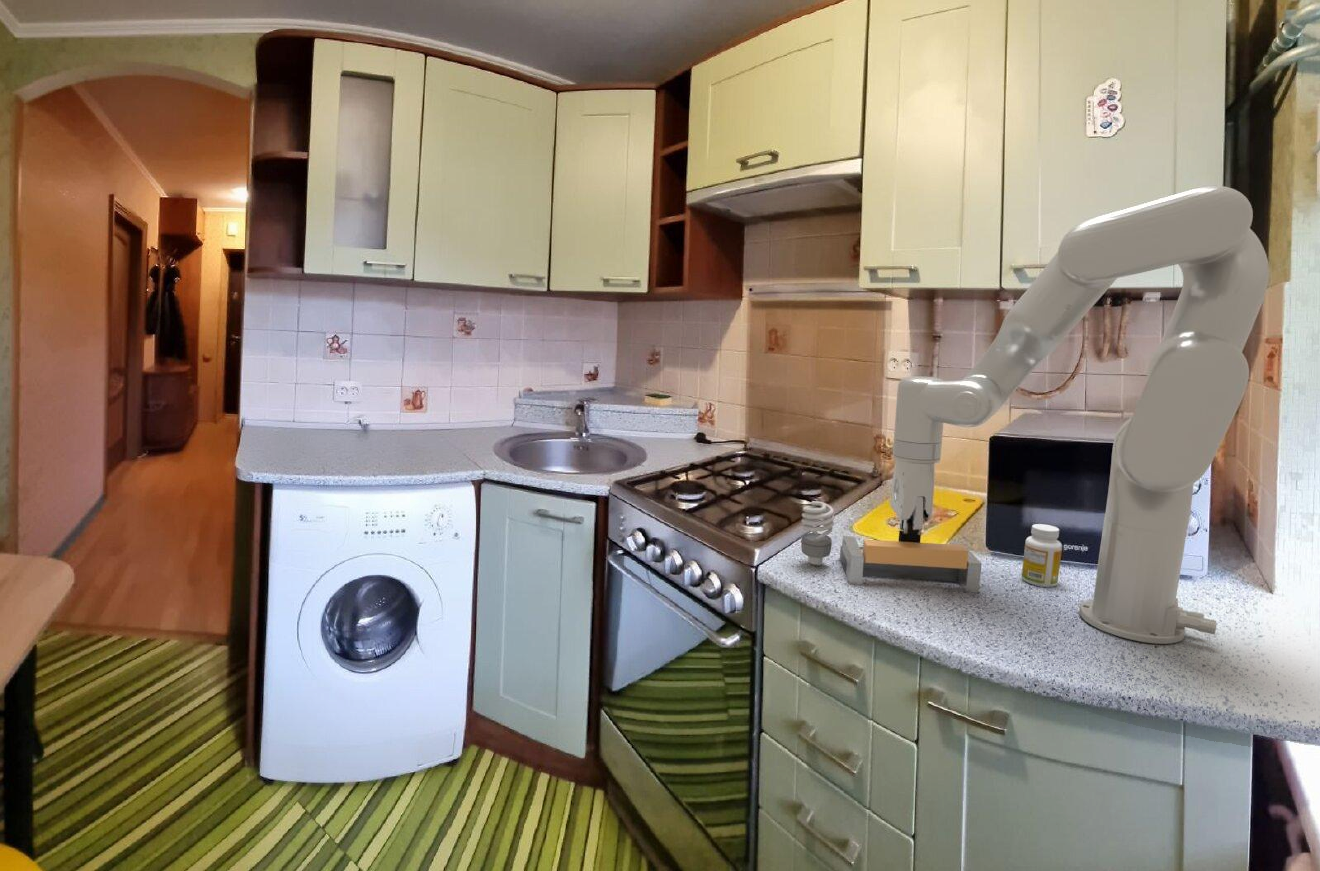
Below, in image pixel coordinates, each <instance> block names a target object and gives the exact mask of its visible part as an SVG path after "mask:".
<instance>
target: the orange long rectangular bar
mask: <svg viewBox="0 0 1320 871" xmlns="http://www.w3.org/2000/svg"><path fill="white" fill-rule="evenodd" d="M963 545H964V544H963ZM963 545H952V544H949V543H931V542H920V543H916V542H899V540H896V541H895V540H893V541H892V540H881V539H880V540H878V539H876V540H875V539H863V543H862V547H863V556H864V561H865V563H880V564H896V565H913V566H929V567H945V568H962V569H967V559H968V550H969V549H968V548H967V547H966V546H965V545H964V546H965V547H966V548H967V549H968V550H967V549H966V548H965V547H964V546H963Z"/></svg>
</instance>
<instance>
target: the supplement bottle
mask: <svg viewBox="0 0 1320 871" xmlns="http://www.w3.org/2000/svg"><path fill="white" fill-rule="evenodd" d="M1030 530H1031V531H1030V533H1031V535H1030V536H1028V537H1027V538H1026V539H1025V544H1024V551H1023V552H1024V553H1023V561H1022V568H1021V579H1022V581H1024V582H1025V583H1027V584H1030V585H1033V586H1036V587H1041V588H1052V587H1055V586H1057V585H1058V582H1059V575H1060V565H1061V560H1062V559H1061V557H1062V551H1063V544H1062V543H1061V541H1059V540H1058V538H1059V535H1060V529H1059V528H1058V527H1057V526H1053V525H1050V524H1044V523H1036V524H1032V526H1031V529H1030Z"/></svg>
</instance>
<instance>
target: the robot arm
mask: <svg viewBox="0 0 1320 871" xmlns="http://www.w3.org/2000/svg"><path fill="white" fill-rule="evenodd" d="M1252 207H1253V206H1252V204H1251V202H1250V201H1249V199H1248V197H1246V196H1245V195H1244V194H1243V193H1242V192H1240V191H1238V190H1237V189H1235V188H1231V187H1227V186H1225V185H1224V186H1221V185H1207V186H1201V187H1197V188H1193V189H1189V190H1186V191H1183V192H1182V191H1181V192H1179V193H1175V194H1172V195H1168V196H1165V197H1162V198H1158V199H1156V200H1152V201H1149V202H1145V203H1142V204H1138V205H1135V206H1132V207H1128V208H1125V209H1121V210H1117V211H1112V212H1110V213H1107V214H1103V215H1099V216H1096V217H1093V218H1090V219H1087V220H1084V221H1082V222H1080V223H1078V224H1076V225H1075V226H1073V227H1072V228H1071V229H1069V231H1067V233H1066V234H1065V235H1064V236H1063V238H1062V240H1061V241H1060V244H1059V247H1058V250H1057V252H1056V253H1055V254H1054V256H1053V257H1052V258H1051V259H1050V261H1049V262H1048V263H1047V265H1046V266H1044V268H1043V270H1042V271H1041V272H1040V273H1039V275H1037V277H1036V278H1035V279H1034V281H1033V282H1032V283H1031V284H1030V285H1029V287H1028V288H1027V289H1026V291H1025V292H1024V293H1023V294H1022V295H1021V296H1020V298H1019V299H1018V300H1017V301H1016V302H1015V304H1014V305H1013V306H1012V307H1011V308H1010V310H1009V312H1008V313H1007V314H1006V315H1005V318H1004V319H1003V321H1002V324H1001V326H1000V329H999V331H998V333H997V335H996V336H995V338H994V340H993V341H992V342H991V345H990V346H989V347H988V348H987V350H986V351H985V353H984V354H982V356H981V357H980V358H979V360H977V362H976V363H975V365H974V366H973V367H972V368H971V370H969V372H968V373H967V374H966V375H965V377H963V379H959V380H958V379H957V380H944V379H942V378H939V377H935V376H934V377H933V376H919V375H918V376H914V375H913V376H906V377H903V378H902V379H900V380H899V382H898V385H897V394H896V395H897V396H896V404H895V418H894V419H895V420H894V432H893V444H892V445H893V446H892V458H893V459H894V460H895V461H894V468H893V473H892V474H893V475H892V484H891V490H890V491H891V492H890V500H889V505H890V508H891V509H892V511H893V512H894V513H895V515H896V516H897V517H898V518H899V529H900V530H898V541H899V542H916V543H921V540H922V539H921V536H922V530H923V528H924V526H923V525H924V521H925V522H929V521H930V520H931V519H932V514H933V508H934V507H933V506H934V493H935V492H934V491H935V464H937V463H940V462H941V457H942V456H941V455H942V448H943V447H942V446H943V445H942V444H943V434H944V433H943V430H944V424H947V425H952V426H956V427H960V428H976V427H979V426H981V425H983V424H985V423H986V422H988V421H989V420H990V419H991V418H992V417H993V416H994V415H995V414H996V413H997V412H998V411H999V410H1000V409H1001V407H1003V405H1005V403H1006V402H1007V401H1008V400H1009V399H1010V397H1012V395H1013V394H1014V393H1015V391H1016V390H1017V389H1018V388H1019V387H1020V386H1021V385H1022V384H1023V382H1024V381H1025V380H1026V379H1027V378H1028V377H1029V375H1030V374H1031V373H1032V372H1033V371H1034V370H1035V369H1036V367H1038V365H1040V364H1041V362H1043V360H1045V359H1046V358H1047V357H1048V356H1050V355H1051V354H1052V353H1053V352H1055V350H1056V348H1057V347H1058V346H1059V345H1060V344H1061V343H1062V342H1063V341H1064V339H1066V338H1067V336H1069V334H1070V332H1071V331H1072V330H1073V329H1074V328H1075V327H1076V326H1077V325H1078V323H1079V322H1080V321H1081V320H1082V319H1083V318H1084V317H1085V315H1086V314H1087V313H1088V312H1089V311H1090V310H1091V309H1092V308H1093V306H1094V305H1095V304H1096V303H1097V302H1098V301H1099V300H1100V299H1101V298H1102V296H1103V295H1104V294H1106V292H1107V290H1108V289H1109V288H1110V287H1111V286H1112V285H1113V284H1114V283H1115V282H1116V280H1117V279H1119V278H1125V277H1127V276H1133V275H1138V274H1142V273H1147V272H1151V271H1154V270H1160V269H1163V268H1168V267H1173V266H1175V265H1178V266H1179V268H1180V270H1181V272H1182V277H1183V278H1182V280H1183V281H1182V287H1181V291H1180V293H1179V296H1178V298H1177V301H1176V304H1175V307H1174V310H1173V312H1172V315H1171V318H1170V320H1169V322H1168V325H1167V327H1166V329H1165V332H1164V333H1163V336H1162V338H1161V340H1160V342H1159V344H1158V346H1157V348H1156V349H1155V352H1154V354H1153V355H1152V357H1151V358H1150V360H1149V362H1148V364H1147V371H1146V376H1147V377H1146V378H1147V380H1146V383H1145V385H1144V388H1143V390H1142V392H1141V395H1140V397H1139V400H1138V402H1137V404H1136V406H1135V409H1134V411H1133V413H1132V416H1131V417H1129V419H1127V420H1126V421H1125V422H1123V424H1121V426H1120V427H1119V428H1118V430H1117V432H1116V434H1115V436H1114V439H1113V445H1112V452H1111V464H1110V471H1109V472H1110V474H1109V484H1108V489H1107V490H1108V493H1107V498H1106V506H1105V507H1106V508H1105V514H1104V518H1103V525H1102V532H1101V539H1100V540H1101V541H1100V547H1099V553H1098V561H1097V562H1098V563H1097V568H1096V575H1095V576H1096V577H1095V584H1094V591H1093V598H1092V599H1088V600H1085V601H1083V602H1082V603H1080V604H1079V609H1078V610H1079V611H1078V613H1079V615H1080V617H1081V618H1082V619H1083V621H1085V622H1086V623H1088V624H1089V625H1091V626H1092V627H1094V628H1096V629H1098V630H1100V631H1102V632H1105V633H1107V634H1109V635H1113V636H1116V637H1120V638H1124V639H1127V640H1131V641H1135V642H1142V643H1146V644H1147V643H1148V644H1155V645H1156V644H1158V645H1162V644H1163V645H1166V644H1167V645H1168V644H1175V643H1178V642H1181V641H1183V640H1184V639H1185V634H1186V629H1187V628H1188V629H1191V630H1195V631H1198V632H1201V633H1204V634H1205V633H1206V634H1209V635H1214V636H1215V634H1216V629H1217V620H1214V619H1209V618H1205V617H1204V616H1205V613H1202V612H1201V613H1200V612H1195V611H1189V610H1186V609H1185V610H1184V609H1183V607H1180V606H1179V599H1178V598H1177V594H1178V588H1179V582H1180V577H1181V570H1182V564H1183V557H1184V551H1185V544H1186V539H1187V533H1188V530H1189V523H1190V516H1191V509H1192V503H1193V502H1192V501H1193V495H1194V494H1193V491H1194V485H1195V483H1196V482H1198V481H1199V480H1200V479H1201V478H1202V477H1203V476H1204V475H1205V474H1206V473H1207V472H1208V469H1209V468H1210V466H1211V465H1212V462H1213V460H1214V459H1215V457H1216V454H1217V453H1218V451H1219V448H1220V446H1221V445H1222V442H1223V441H1224V438H1225V437H1226V434H1227V432H1228V430H1229V428H1230V425H1231V424H1232V422H1233V420H1234V418H1235V415H1236V413H1237V411H1238V409H1239V407H1240V404H1241V403H1242V400H1243V398H1244V395H1245V393H1246V391H1247V387H1248V383H1249V375H1250V368H1249V363H1248V361H1247V357H1245V354H1244V353H1243V351H1244V348H1245V346H1246V344H1247V342H1248V341H1247V340H1248V338H1249V337H1250V335H1251V332H1252V330H1253V327H1254V324H1255V322H1256V320H1257V317H1258V315H1259V312H1260V311H1261V307H1262V305H1263V303H1264V300H1265V296H1266V294H1267V290H1268V287H1269V286H1268V285H1269V280H1270V267H1269V266H1270V265H1269V260H1268V257H1267V253H1266V251H1265V249H1264V245H1263V243H1262V242H1261V240H1260V239H1259V237H1258V235H1256V232H1254V231H1253V230H1252V229H1251V226H1252V222H1253V219H1254V218H1253V217H1254V216H1253V214H1254V212H1253V208H1252ZM1071 333H1072V332H1071Z"/></svg>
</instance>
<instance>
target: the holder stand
mask: <svg viewBox="0 0 1320 871" xmlns="http://www.w3.org/2000/svg"><path fill="white" fill-rule="evenodd" d="M948 544H952V545H963V546H964V547H965V548H966V549H967V550H968V559H967V569H962V568H945V567H929V566H913V565H896V564H880V563H865V561H864V556H863V546H860V545H859V544H858V542H857V540H856V538H855V536H852V535H851V536H850V535H849V536H848V535H842V542H841V545H840V550H839V551H840V552H839V560H840V563H841V566H842V568H843V571H844V573H845V575H846V579H847V580H848V584H849V585H858V586H861V585H863V577H871V578H872V577H873V578H874V577H875V578H890V579H903V580H904V579H906V580H918V581H919V580H920V581H935V582H936V581H937V582H951V583H952V582H953V583H958V584H959V585H960V586H961V587H962V590H964V591H965V593H967V592H970V593H979V591H980V583H981V573H982V565H983V564H982V562H981V561H980V560H979V559H978V558H977V557H976V556H975V554H973V553H972V552H971V551H970V549H968V547H966V545H965V544H964V543H963V542H958V541H957V542H956V541H949V543H948Z"/></svg>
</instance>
